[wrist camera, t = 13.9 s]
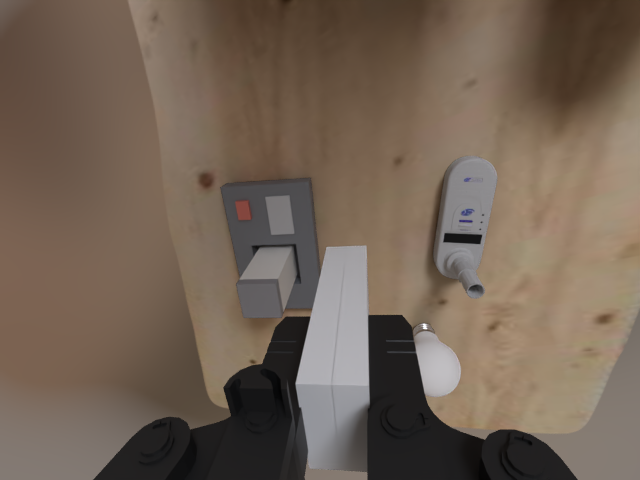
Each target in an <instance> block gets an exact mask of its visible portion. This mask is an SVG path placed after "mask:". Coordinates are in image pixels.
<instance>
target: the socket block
mask: <svg viewBox="0 0 640 480" xmlns="http://www.w3.org/2000/svg"><path fill="white" fill-rule="evenodd" d="M220 188H221V192H222V197H223V202H224V206H225V211H226V215H227V220H228V225H229V229H230V234H231V238H232V243H233V248H234V252H235V257H236V261H237V266H238V271H239V275H240V277H241V276H242V274H243V273H244V271H245V270H246V268H247V266H248V265H249V263H250V262H251V260H252V259H253V257H254V256H255V254H256V252H257V251H258V249H259V248H260V246H261V245H286V244H293V245H294V253H295V260H296V267H297V276H296V279H295V282H294V284H293V287H292V290H291V293H290V296H289V299H288V301H287V304H286V307H285V309H288V308H313V305H314V301H315V296H316V292H317V287H318V283H319V279H320V274H321V269H320V260H319V250H318V241H317V231H316V221H315V212H314V202H313V193H312V183H311V178H300V179H284V180H268V181H253V182H237V183H226V184H225V185H223V186H222V187H220Z"/></svg>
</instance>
